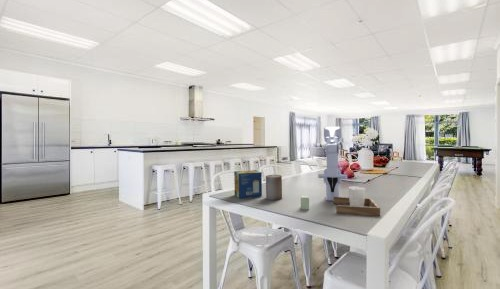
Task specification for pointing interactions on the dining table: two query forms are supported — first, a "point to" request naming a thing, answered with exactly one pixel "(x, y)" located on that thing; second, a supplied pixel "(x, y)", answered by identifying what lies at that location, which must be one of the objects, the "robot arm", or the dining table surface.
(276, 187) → the pillar candle
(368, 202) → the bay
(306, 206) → the block
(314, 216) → the dining table surface
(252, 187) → the protein box
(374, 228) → the dining table surface
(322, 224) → the dining table surface
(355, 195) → the white cup
